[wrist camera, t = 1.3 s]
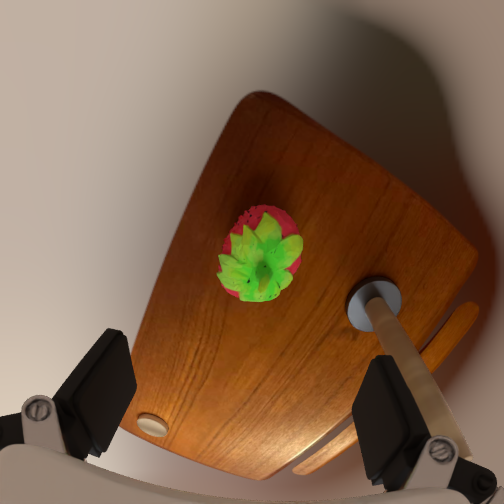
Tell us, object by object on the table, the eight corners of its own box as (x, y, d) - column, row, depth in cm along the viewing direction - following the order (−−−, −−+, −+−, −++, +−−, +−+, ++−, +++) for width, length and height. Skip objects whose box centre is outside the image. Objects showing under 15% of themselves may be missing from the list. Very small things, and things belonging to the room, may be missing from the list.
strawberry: (312, 219, 25) (336, 260, 16) (266, 282, 28) (263, 347, 18) (258, 183, 25) (251, 202, 15) (214, 250, 27) (185, 303, 18)
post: (352, 274, 27) (442, 451, 8) (404, 278, 27) (516, 424, 8) (339, 325, 29) (389, 501, 10) (389, 327, 29) (463, 479, 10)
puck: (136, 410, 37) (134, 415, 36) (166, 418, 36) (164, 422, 35) (141, 428, 38) (140, 432, 37) (170, 435, 38) (168, 439, 37)
